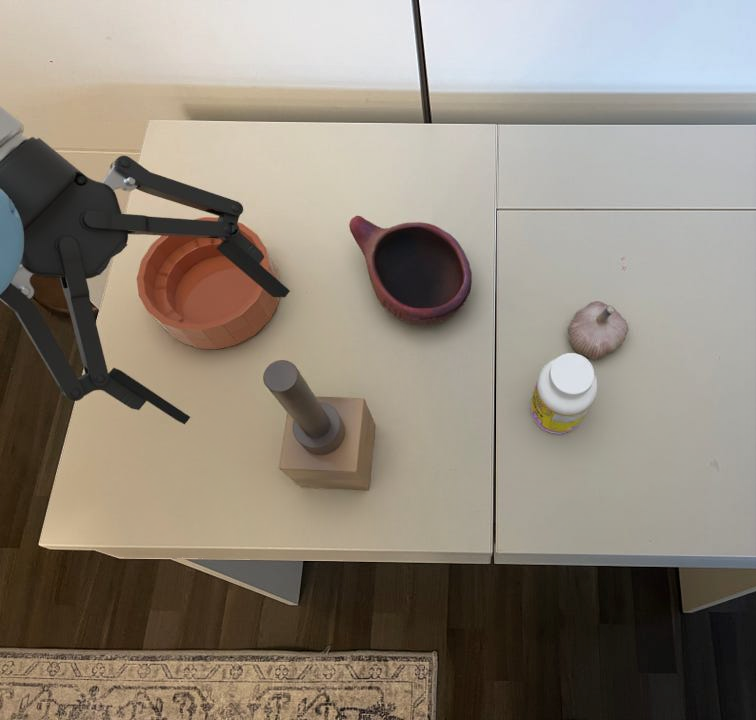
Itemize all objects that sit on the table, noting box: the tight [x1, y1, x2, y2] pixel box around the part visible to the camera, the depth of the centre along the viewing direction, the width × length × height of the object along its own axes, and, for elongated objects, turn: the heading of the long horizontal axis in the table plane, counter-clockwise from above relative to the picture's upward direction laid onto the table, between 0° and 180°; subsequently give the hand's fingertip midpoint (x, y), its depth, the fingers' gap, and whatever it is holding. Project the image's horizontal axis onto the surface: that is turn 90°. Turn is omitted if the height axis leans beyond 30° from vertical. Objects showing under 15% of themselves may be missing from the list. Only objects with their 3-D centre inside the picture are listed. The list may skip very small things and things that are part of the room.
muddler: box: [262, 359, 345, 455], centre depth 61 cm, size 5×5×17 cm
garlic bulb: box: [567, 301, 629, 360], centre depth 81 cm, size 8×7×8 cm
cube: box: [278, 395, 376, 491], centre depth 74 cm, size 8×8×10 cm
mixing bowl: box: [136, 216, 281, 350], centre depth 83 cm, size 16×16×6 cm
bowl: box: [348, 215, 473, 326], centre depth 83 cm, size 16×13×8 cm
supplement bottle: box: [530, 352, 598, 435], centre depth 75 cm, size 7×7×13 cm
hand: (234, 354), depth 57 cm, fingers open, 13 cm apart
